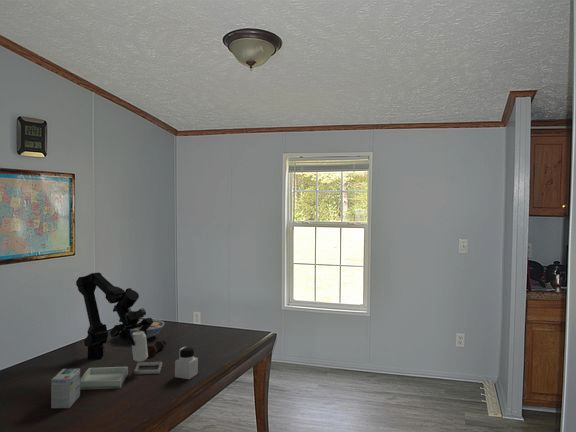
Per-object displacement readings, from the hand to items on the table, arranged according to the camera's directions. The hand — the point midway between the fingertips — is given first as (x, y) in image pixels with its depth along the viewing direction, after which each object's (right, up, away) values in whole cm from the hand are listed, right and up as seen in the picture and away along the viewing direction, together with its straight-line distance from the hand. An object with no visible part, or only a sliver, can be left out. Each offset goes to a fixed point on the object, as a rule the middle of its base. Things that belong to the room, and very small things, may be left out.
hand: (140, 343), depth 200 cm
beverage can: (-1, -8, +2) cm, 8 cm away
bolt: (-1, -13, +31) cm, 33 cm away
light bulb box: (-18, -14, -29) cm, 37 cm away
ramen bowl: (-16, -12, +54) cm, 57 cm away
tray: (-12, -13, -8) cm, 20 cm away
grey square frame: (+2, -13, +6) cm, 15 cm away
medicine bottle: (+20, -14, 0) cm, 24 cm away
